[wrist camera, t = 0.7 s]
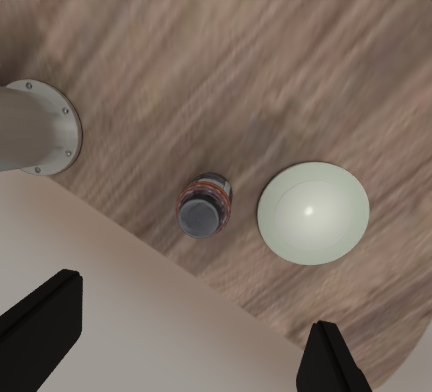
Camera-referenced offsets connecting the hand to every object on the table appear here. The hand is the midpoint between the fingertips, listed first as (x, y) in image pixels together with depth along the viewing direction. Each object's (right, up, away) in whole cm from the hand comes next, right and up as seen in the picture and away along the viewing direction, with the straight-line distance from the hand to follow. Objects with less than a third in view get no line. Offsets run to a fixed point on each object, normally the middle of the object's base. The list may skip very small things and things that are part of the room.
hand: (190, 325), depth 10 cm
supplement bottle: (0, +6, +25) cm, 26 cm away
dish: (+14, +3, +24) cm, 28 cm away
